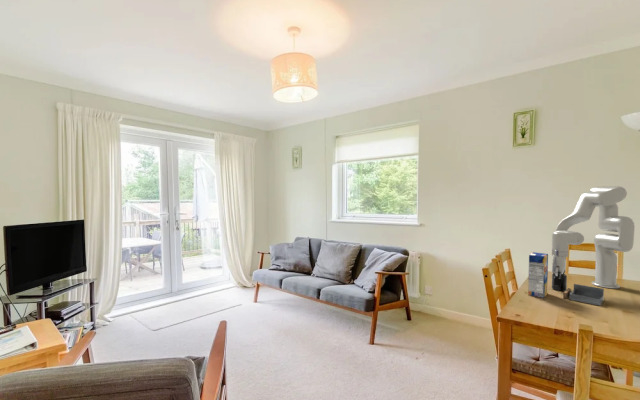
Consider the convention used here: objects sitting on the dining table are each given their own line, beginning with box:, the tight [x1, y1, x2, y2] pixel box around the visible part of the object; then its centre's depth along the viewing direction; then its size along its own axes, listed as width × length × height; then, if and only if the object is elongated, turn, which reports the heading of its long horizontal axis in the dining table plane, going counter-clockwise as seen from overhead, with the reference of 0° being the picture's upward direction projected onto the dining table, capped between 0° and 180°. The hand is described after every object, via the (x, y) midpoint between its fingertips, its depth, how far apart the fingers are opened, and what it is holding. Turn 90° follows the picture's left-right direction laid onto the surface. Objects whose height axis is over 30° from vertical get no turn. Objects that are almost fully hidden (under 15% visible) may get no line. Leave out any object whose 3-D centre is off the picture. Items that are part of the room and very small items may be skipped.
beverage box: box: [527, 251, 549, 299], centre depth 172 cm, size 7×11×22 cm, turn 135°
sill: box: [562, 287, 572, 300], centre depth 169 cm, size 12×1×3 cm, turn 132°
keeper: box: [568, 283, 605, 307], centre depth 163 cm, size 12×12×6 cm
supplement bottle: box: [551, 270, 568, 292], centre depth 180 cm, size 7×7×12 cm
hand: (559, 283), depth 180 cm, fingers open, 7 cm apart
